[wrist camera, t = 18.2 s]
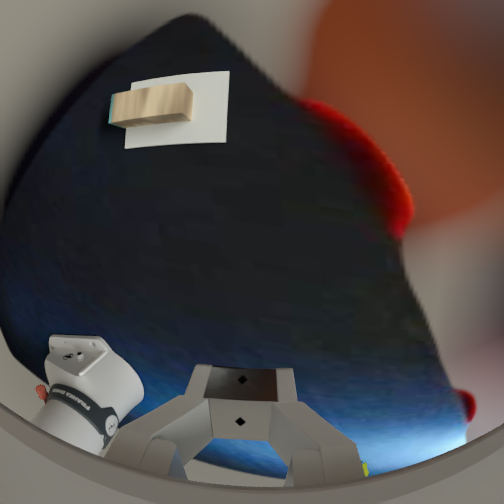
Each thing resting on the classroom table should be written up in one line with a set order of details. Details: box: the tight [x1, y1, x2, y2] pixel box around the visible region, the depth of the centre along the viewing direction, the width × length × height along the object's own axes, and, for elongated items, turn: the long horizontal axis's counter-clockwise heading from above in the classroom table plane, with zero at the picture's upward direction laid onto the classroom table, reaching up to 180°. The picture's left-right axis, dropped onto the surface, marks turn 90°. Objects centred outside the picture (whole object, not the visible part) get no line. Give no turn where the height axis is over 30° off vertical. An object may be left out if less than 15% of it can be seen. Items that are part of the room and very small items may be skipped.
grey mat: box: [125, 71, 230, 149], centre depth 30 cm, size 14×10×1 cm
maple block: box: [109, 82, 194, 128], centre depth 28 cm, size 4×4×10 cm
